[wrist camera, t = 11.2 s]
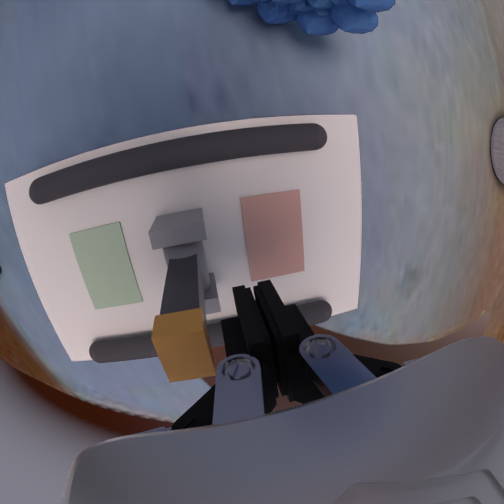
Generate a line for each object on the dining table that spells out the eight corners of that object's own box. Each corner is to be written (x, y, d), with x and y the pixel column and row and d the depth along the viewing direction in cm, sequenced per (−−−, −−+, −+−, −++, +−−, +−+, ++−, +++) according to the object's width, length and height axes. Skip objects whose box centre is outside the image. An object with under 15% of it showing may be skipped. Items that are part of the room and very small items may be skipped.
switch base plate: (23, 178, 16) (-23, 193, 10) (337, 117, 20) (385, 112, 14) (80, 341, 23) (61, 388, 17) (342, 292, 26) (377, 330, 20)
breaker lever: (163, 238, 17) (139, 330, 8) (201, 231, 17) (210, 318, 9) (174, 280, 18) (165, 389, 10) (209, 274, 19) (226, 380, 10)
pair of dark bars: (34, 179, 14) (21, 183, 13) (318, 123, 17) (330, 121, 15) (97, 354, 20) (92, 368, 18) (326, 311, 23) (335, 323, 21)
